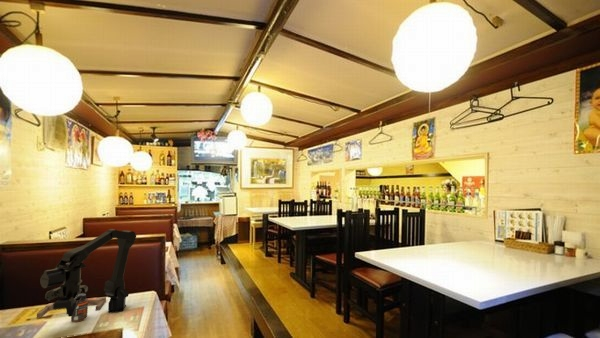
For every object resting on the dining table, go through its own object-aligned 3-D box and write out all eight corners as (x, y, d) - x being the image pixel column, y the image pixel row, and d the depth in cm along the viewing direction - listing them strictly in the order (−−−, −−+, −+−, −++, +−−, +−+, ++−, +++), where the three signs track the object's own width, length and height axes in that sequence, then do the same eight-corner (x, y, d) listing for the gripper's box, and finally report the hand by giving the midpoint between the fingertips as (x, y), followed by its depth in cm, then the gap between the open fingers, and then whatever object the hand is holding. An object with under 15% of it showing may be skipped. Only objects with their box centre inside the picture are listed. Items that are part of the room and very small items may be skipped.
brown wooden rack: (105, 301, 148) (106, 296, 148) (99, 310, 138) (99, 304, 138) (48, 308, 140) (48, 302, 140) (36, 318, 130) (36, 311, 130)
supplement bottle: (78, 323, 125) (79, 298, 126) (67, 322, 126) (68, 297, 127) (90, 317, 131) (91, 293, 132) (80, 315, 132) (81, 292, 133)
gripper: (60, 275, 127) (58, 309, 126) (37, 290, 109) (35, 330, 108) (88, 272, 130) (87, 305, 130) (71, 286, 113) (69, 325, 112)
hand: (70, 316), depth 120 cm, fingers closed
